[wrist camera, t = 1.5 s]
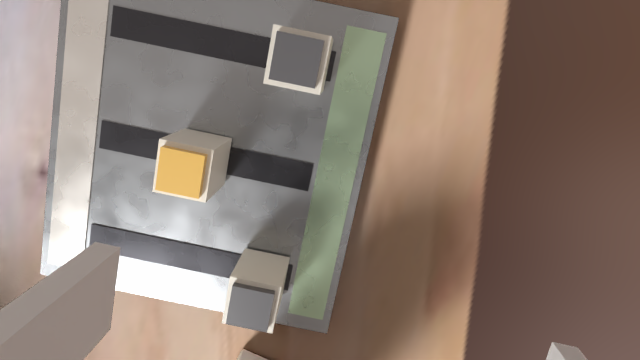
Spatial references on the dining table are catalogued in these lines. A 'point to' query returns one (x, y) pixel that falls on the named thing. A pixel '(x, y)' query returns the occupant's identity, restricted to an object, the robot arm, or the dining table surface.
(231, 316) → the block
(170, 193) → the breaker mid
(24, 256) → the dining table surface
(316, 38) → the block
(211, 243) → the panel
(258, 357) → the milk carton
